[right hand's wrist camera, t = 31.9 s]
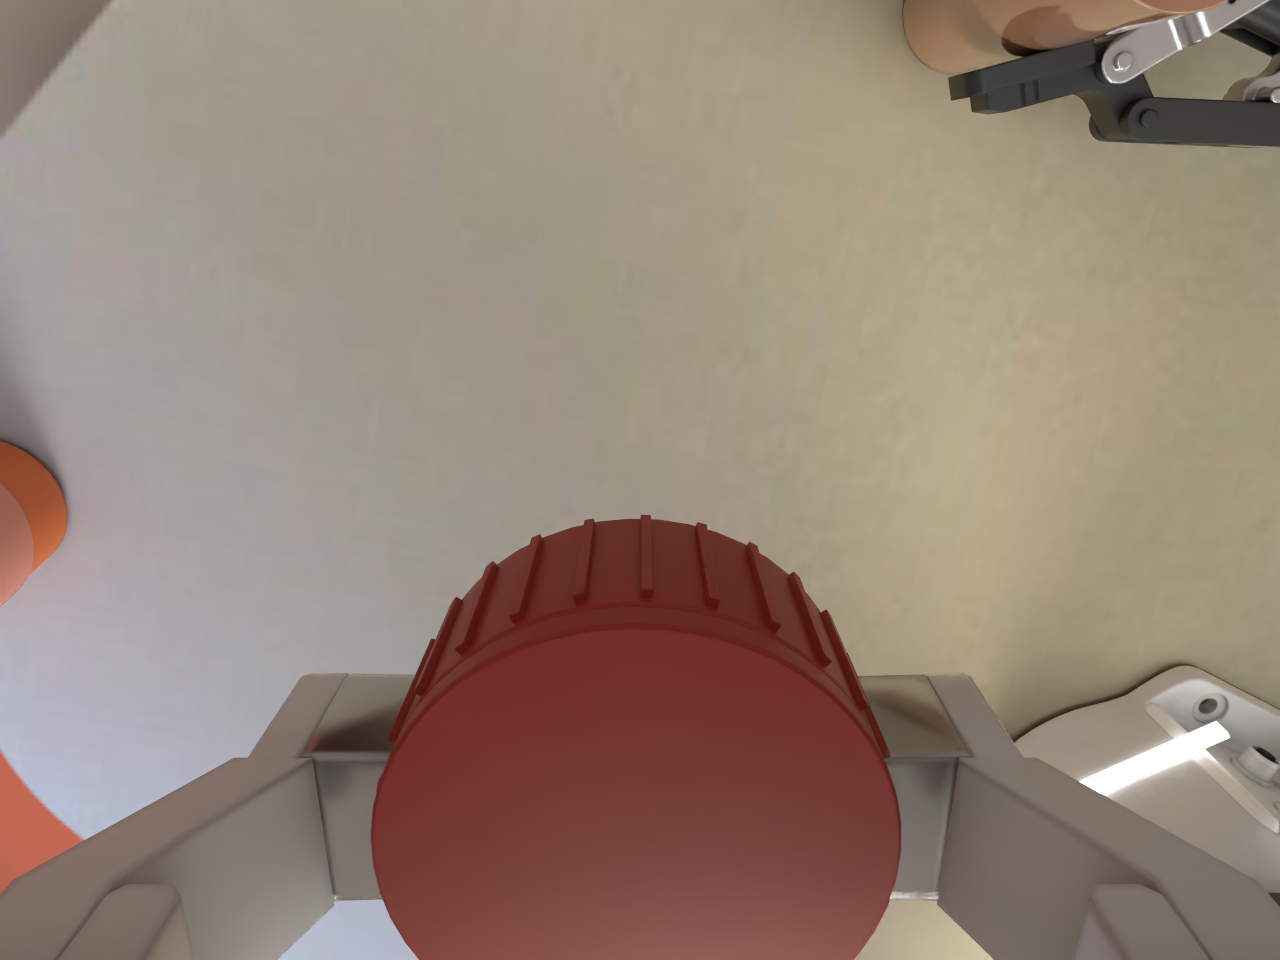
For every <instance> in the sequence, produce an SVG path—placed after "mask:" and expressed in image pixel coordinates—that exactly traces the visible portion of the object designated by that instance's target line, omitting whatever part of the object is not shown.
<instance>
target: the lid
mask: <svg viewBox="0 0 1280 960" xmlns="http://www.w3.org/2000/svg"><path fill="white" fill-rule="evenodd" d="M387 741H389V742H392V743H395V745H394V747H393V750H392V752H391V754H390V757H389V759H388V761H387V764H386V766H385V768H384V771H383V773H382V775H381V778H380V780H379V781H378V783H377V793H376V797H375V801H374V805H373V811H372V824H371V847H372V858H373V867H374V871H375V875H376V879H377V883H378V887H379V891H380V894H381V896H382V899H383V901H384V903H385V906H386V908H387V911H388V913H389V915H390V918H391V920H392V921H393V923H394V925H395V926H396V928H397V929H398V931H399V933H400V934H401V936H402V938H403V939H404V941H405V943H406V944H407V945H408V946H409V948H410V949H411V950H412V951H413V953H414V954H415V955H416V956H417V957H418V959H419V960H854V958H855V957H856V956H857V955H858V954H859V953H860V951H861V950H862V948H863V947H864V946H865V944H866V943H867V941H868V940H869V938H870V937H871V936H872V934H873V933H874V931H875V930H876V928H877V926H878V924H879V922H880V920H881V918H882V916H883V914H884V912H885V910H886V908H887V906H888V903H889V900H890V897H891V894H892V891H893V888H894V885H895V882H896V878H897V872H898V866H899V860H900V854H901V817H900V811H899V805H898V799H897V793H896V790H895V787H894V785H893V782H892V779H891V776H890V773H889V770H888V767H887V764H886V762H885V758H889V757H890V752H889V749H888V746H887V744H886V742H885V739H884V737H883V735H882V732H881V730H880V728H879V725H878V723H877V721H876V718H875V716H874V714H873V711H872V709H871V707H870V704H869V702H868V700H867V697H866V695H865V693H864V690H863V688H862V686H861V683H860V681H859V679H858V676H857V674H856V671H855V669H854V667H853V664H852V662H851V660H850V657H849V655H848V653H846V650H845V648H844V646H843V643H842V641H841V639H840V636H839V634H838V632H837V629H836V627H835V625H834V622H833V620H832V617H831V615H830V614H829V612H828V611H827V610H825V611H823V612H820V611H819V609H818V608H817V607H816V605H815V604H814V602H813V601H812V600H811V598H810V597H809V595H808V594H807V593H806V592H805V590H804V588H803V585H802V582H801V580H800V577H799V576H798V575H797V574H796V573H795V572H792V573H791V574H790V575H789V574H787V573H786V572H785V571H784V570H782V569H781V568H780V567H778V566H777V565H776V564H775V563H773V562H772V561H771V560H769V559H768V558H767V557H765V556H763V555H762V554H760V553H759V550H758V547H757V546H756V545H755V544H753V543H751V542H749V543H748V544H747V546H746V545H745V544H743V543H741V542H738V541H736V540H734V539H731V538H729V537H726V536H724V535H722V534H719V533H717V532H714V531H710V530H707V525H706V524H702V523H697V525H696V526H693V525H689V524H683V523H677V522H670V521H664V520H651V516H650V515H641V519H623V520H612V521H601V522H596V523H595V521H594V519H589V520H585V521H584V525H582V526H577V527H572V528H569V529H566V530H563V531H561V532H558V533H555V534H552V535H549V536H546V537H544V538H542V537H541V535H537V536H535V537H533V538H532V539H531V542H530V545H528V546H526V547H524V548H522V549H520V550H518V551H516V552H515V553H513V554H512V555H510V556H509V557H508V558H506V559H505V560H503V561H502V562H500V563H499V564H497V565H496V563H495V562H494V561H493V562H491V563H490V564H489V565H487V566H486V569H485V571H484V574H483V576H482V578H481V579H480V580H479V581H478V582H477V583H476V584H475V585H474V586H473V587H472V588H471V590H470V591H469V592H468V593H467V594H466V596H465V597H464V598H463V599H462V600H461V599H459V598H458V597H456V598H455V599H454V600H453V602H452V603H451V605H450V607H449V610H448V612H447V614H446V617H445V619H444V621H443V624H442V626H441V628H440V631H439V633H438V635H437V638H436V640H435V639H431V641H430V643H429V645H428V647H427V650H426V652H425V654H424V656H423V659H422V661H421V663H420V665H419V668H418V670H417V672H416V674H415V677H414V679H413V681H412V684H411V686H410V688H409V690H408V693H407V695H406V697H405V699H404V702H403V704H402V706H401V708H400V711H399V713H398V715H397V717H396V720H395V722H394V724H393V727H392V729H391V731H390V733H389V736H388V739H387Z"/></svg>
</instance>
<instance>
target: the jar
mask: <svg viewBox="0 0 1280 960" xmlns="http://www.w3.org/2000/svg"><path fill="white" fill-rule="evenodd" d="M1226 1H1228V0H905V2H904V7H903V25H904V31H905V35H906V38H907V41H908V43H909V45H910V47H911V49H912V50H913V52H914V53H915V55H916V56H917V57H918V58H919V59H920V60H921V61H922V62H923V63H924V64H926V65H927V66H929V67H930V68H932V69H935V70H937V71H940V72H944V73H951V74H956V73H965V72H969V71H973V70H977V69H981V68H985V67H989V66H992V65H996V64H1000V63H1004V62H1007V61H1011V60H1015V59H1018V58H1022V57H1026V56H1029V55H1033V54H1037V53H1041V52H1045V51H1049V50H1053V49H1057V48H1062V47H1066V46H1070V45H1074V44H1078V43H1082V42H1086V41H1089V40H1093V39H1097V38H1101V37H1105V36H1109V35H1113V34H1117V33H1120V32H1124V31H1128V30H1132V29H1136V28H1140V27H1144V26H1148V25H1152V24H1155V23H1159V22H1163V21H1167V20H1171V19H1175V18H1179V17H1183V16H1186V15H1190V14H1194V13H1198V12H1201V11H1205V10H1208V9H1211V8H1214V7H1216V6H1218V5H1221V4H1223V3H1225V2H1226Z"/></svg>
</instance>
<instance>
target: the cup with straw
mask: <svg viewBox="0 0 1280 960" xmlns="http://www.w3.org/2000/svg"><path fill="white" fill-rule="evenodd" d="M66 527H67V508H66V503H65V499H64V497H63V494H62V492H61V490H60V487H59V486H58V484H57V482H56V481H55V479H54V478H53V476H52V475H51V474H50V473H49V471H48V470H47V469H46V468H45V467H44V466H43V465H42V464H41V463H40V462H39V461H37V460H36V459H35V458H34V457H32V456H31V455H29V454H28V453H26V452H25V451H23V450H21V449H19V448H17V447H15V446H13V445H10V444H8V443H5V442H2V441H0V606H1V605H2V604H4V603H5V602H6V601H7V600H8V599H9V598H10V597H11V596H12V595H14V594H15V593H16V592H17V591H18V590H19V588H20V587H21V586H22V585H23V583H24V582H25V580H26V579H27V577H28V575H29V574H30V573H31V572H32V571H34V570H35V569H36V568H37V567H38V566H39V565H40V564H41V563H43V562H44V561H45V560H46V559H47V558H48V557H49V556H50V555H51V554H52V553H53V552H54V551H55V550H56V549H57V547H58V546H59V545H60V543H61V541H62V539H63V537H64V535H65V531H66Z"/></svg>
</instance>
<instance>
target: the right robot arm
mask: <svg viewBox="0 0 1280 960" xmlns="http://www.w3.org/2000/svg"><path fill="white" fill-rule="evenodd" d="M414 677H415V675H388V674H351V675H349V674H347V673H328V674H308V675H305V676H302V677H301V678H300V679H299V681H298V682H297V684H296V685H295V687H294V688H293V690H292V691H291V693H290V694H289V696H288V697H287V699H286V700H285V702H284V703H283V705H282V706H281V708H280V709H279V711H278V712H277V714H276V715H275V717H274V719H273V720H272V722H271V723H270V725H269V726H268V728H267V729H266V731H265V732H264V734H263V735H262V737H261V738H260V740H259V741H258V743H257V744H256V746H255V747H254V749H253V750H252V752H251V753H250V755H249V756H248V758H233V759H231V760H229V761H228V762H226V763H224V764H222V765H220V766H219V767H217V768H215V769H213V770H211V771H210V772H208V773H206V774H204V775H202V776H200V777H199V778H197V779H195V780H193V781H191V782H190V783H188V784H186V785H184V786H182V787H181V788H179V789H177V790H175V791H173V792H172V793H170V794H168V795H166V796H164V797H162V798H161V799H159V800H157V801H155V802H153V803H152V804H150V805H148V806H146V807H144V808H143V809H141V810H139V811H137V812H135V813H133V814H132V815H130V816H128V817H126V818H124V819H123V820H121V821H119V822H117V823H115V824H114V825H112V826H110V827H108V828H106V829H105V830H103V831H101V832H99V833H97V834H95V835H94V836H92V837H90V838H88V839H86V840H85V841H83V842H81V843H79V844H77V845H76V846H74V847H72V848H70V849H68V850H66V851H65V852H63V853H61V854H59V855H58V856H56V857H54V858H52V859H50V860H48V861H47V862H45V863H43V864H41V865H39V866H38V867H36V868H34V869H32V870H30V871H28V872H27V873H25V874H23V875H21V876H19V877H18V878H16V879H14V880H12V882H11V883H10V884H9V885H8V886H7V887H6V888H5V890H4V891H3V892H2V893H1V894H0V960H278V959H279V958H280V957H281V956H282V955H283V954H284V953H285V952H286V951H287V950H288V949H289V948H290V947H291V946H292V945H293V944H294V943H295V942H296V941H297V940H298V939H299V938H301V937H302V936H303V935H304V934H305V933H306V932H307V931H308V930H309V929H310V928H311V927H312V926H313V925H314V924H315V923H316V922H317V921H318V920H319V919H320V918H321V917H322V916H323V915H325V914H326V913H327V912H328V911H329V910H330V909H331V908H332V907H333V906H334V901H340V900H375V899H382V896H381V894H380V891H379V887H378V883H377V879H376V875H375V871H374V867H373V858H372V847H371V824H372V811H373V805H374V801H375V797H376V793H377V783H378V781H379V780H380V778H381V775H382V773H383V771H384V768H385V766H386V764H387V761H388V759H389V757H390V754H391V752H392V750H393V747H394V745H395V743H392V742H389V741H387V739H388V736H389V733H390V731H391V729H392V727H393V724H394V722H395V720H396V717H397V715H398V713H399V711H400V708H401V706H402V704H403V702H404V699H405V697H406V695H407V693H408V690H409V688H410V686H411V684H412V681H413V679H414ZM858 679H859V681H860V683H861V686H862V688H863V690H864V693H865V695H866V697H867V700H868V702H869V704H870V707H871V709H872V711H873V714H874V716H875V718H876V721H877V723H878V725H879V728H880V730H881V732H882V735H883V737H884V739H885V742H886V744H887V746H888V749H889V752H890V757H889V758H885V762H886V764H887V767H888V770H889V773H890V776H891V779H892V782H893V785H894V787H895V790H896V793H897V799H898V805H899V811H900V817H901V854H900V860H899V866H898V872H897V878H896V882H895V885H894V888H893V891H892V894H891V897H890V899H896V900H931V901H938V903H937V905H938V906H939V907H941V908H942V909H943V910H944V911H945V912H946V913H947V914H948V915H949V916H950V917H951V918H952V919H953V920H954V921H955V922H956V923H957V924H958V925H959V926H960V927H961V928H962V929H963V930H964V931H965V932H966V933H967V934H968V935H969V936H970V937H971V938H972V939H973V940H974V941H976V942H977V943H978V944H979V945H980V946H981V947H982V948H983V949H984V950H985V951H986V952H987V953H988V954H989V955H990V956H991V957H992V958H993V959H994V960H1280V710H1279V709H1277V708H1275V707H1273V706H1271V705H1269V704H1267V703H1265V702H1263V701H1261V700H1259V699H1257V698H1256V697H1254V696H1252V695H1250V694H1248V693H1246V692H1244V691H1242V690H1240V689H1238V688H1236V687H1234V686H1232V685H1230V684H1228V683H1226V682H1224V681H1222V680H1220V679H1218V678H1216V677H1214V676H1212V675H1210V674H1208V673H1206V672H1204V671H1202V670H1200V669H1198V668H1196V667H1193V666H1178V667H1175V668H1172V669H1169V670H1167V671H1165V672H1163V673H1161V674H1159V675H1158V676H1156V677H1154V678H1152V679H1151V680H1149V681H1147V682H1146V683H1144V684H1143V685H1141V686H1139V687H1138V688H1136V689H1135V690H1133V691H1132V692H1130V693H1129V694H1127V695H1124V696H1122V697H1119V698H1116V699H1113V700H1110V701H1106V702H1102V703H1098V704H1094V705H1090V706H1087V707H1083V708H1080V709H1076V710H1073V711H1070V712H1068V713H1065V714H1062V715H1060V716H1058V717H1056V718H1053V719H1051V720H1049V721H1047V722H1045V723H1043V724H1041V725H1039V726H1038V727H1036V728H1034V729H1033V730H1031V731H1030V732H1028V733H1027V734H1025V735H1024V736H1022V737H1021V738H1020V739H1018V740H1017V741H1016V742H1013V741H1012V739H1011V738H1010V736H1009V735H1008V733H1007V732H1006V730H1005V728H1004V727H1003V725H1002V724H1001V722H1000V721H999V719H998V718H997V716H996V715H995V713H994V712H993V710H992V709H991V707H990V706H989V704H988V703H987V701H986V699H985V698H984V696H983V695H982V693H981V692H980V690H979V689H978V687H977V686H976V684H975V683H974V681H973V680H972V678H971V677H970V676H968V675H966V674H965V673H947V674H921V675H890V676H858ZM1205 699H1207V700H1206V701H1205V702H1204V703H1203V704H1200V703H1201V702H1202V701H1203V700H1205Z"/></svg>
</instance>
